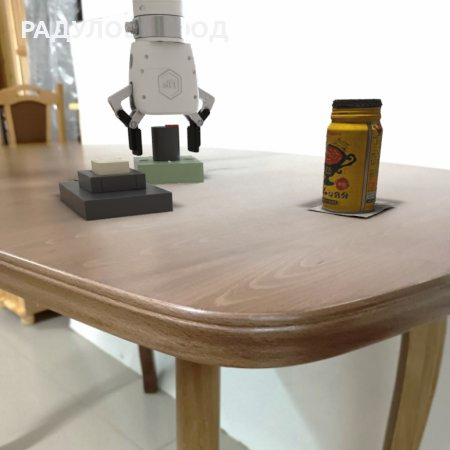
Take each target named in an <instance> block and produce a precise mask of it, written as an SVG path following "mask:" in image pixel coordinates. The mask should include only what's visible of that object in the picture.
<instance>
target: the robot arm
mask: <svg viewBox="0 0 450 450" xmlns="http://www.w3.org/2000/svg"><path fill="white" fill-rule="evenodd" d="M132 13H133V15H132V16H133V18H131V19H132V20H131V21H125V22H124V32H125V33H130V34H131V35H132V36H133V39H134V41H133V42H131V44H130V51H129V62H128V85H126V86H124V87H123V88H121V89H119V90H118V91H116V92H114V93H113V94H111V95H109V96H108V97H107V103H108V104H109V106H110V108H111V110H112V112H113V113H114V115H115V117H116V118H117V119H118V120H119V121H120V122H121V123H122V124H123V125H124V127H125V128H127V139H128V141H127V142H128V149H129V150H130V151H131V154H132V155H133V156H135V157H142V156H143V154H144V151H143V150H144V149H143V136H142V135H143V134H142V129H141V128H140V127H139V125H140V123H141V122H142V120H143V119H144V117H145V116H172V115H173V116H175V115H176V116H177V115H183V117H184V118H185V120H186V121H187V122H188V124H189V125H187V127H186V143H187V144H186V145H187V152H190V153H197V154H198V153H199V152H200V147H201V146H202V145H201V144H202V135H201V133H202V132H201V131H202V130H201V129H202V128H201V127H203V126H204V123H205V121H206V120H207V119H208V117H209V116H210V115H211V110H212V108H213V106H214V104H215V101H216V98H215V97H214V95H211V94H210V93H209V92H207V91H205V90H204V89H202V88H201V87H199V83H198V82H199V81H198V73H197V72H198V71H197V65H196V60H195V54H194V50H193V46H192V45H193V44H192V43H189V42H188V43H187V28H186V0H132ZM127 98H128V101H129V102H128V103H129V107H130V110H131V111H130V113H129V114H128V112H126V110H125V109H124V107H123V106H122V102H123V101H124V100H126V99H127ZM200 101H201V102H202V104H201V108H200ZM199 108H200V109H199Z"/></svg>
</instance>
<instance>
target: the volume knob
mask: <svg viewBox="0 0 450 450" xmlns="http://www.w3.org/2000/svg"><path fill="white" fill-rule="evenodd" d="M150 134H151V135H150V136H151V150H152V151H151V152H152V153H151V154H152V157H153V160H155V161H175V160H180V156H181V147H180V145H181V144H180V143H181V141H180V125H179V124H178V123H177V124H175V123H173V124H164V125H155V126H150Z"/></svg>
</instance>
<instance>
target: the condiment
mask: <svg viewBox="0 0 450 450" xmlns="http://www.w3.org/2000/svg"><path fill="white" fill-rule="evenodd" d="M383 105H384V104H383V101H382V99H381V98H341V99H340V98H337V99H334V100H332V104H331V107H332V108H331V113H330V120H331V122H330V123H329V125H328V126H327V128H326V133H325V135H326V136H325V148H324V149H325V150H324V151H325V152H324V164H323V181H322V197H321V203H322V204H319V205H317V206H315V207H311V208H309V210H311V211H317V212H322V213H328V214H333V215H334V214H335V215H342V216H357V217H363V218H368V217H371V216H374V215H376V214H378V213H381V212H382V211H384V210H385V209H388V208H390V207H392V206H393V205H395V203H390V202H389V203H384V202H383V203H382V202H376V201H377V200H376V199H377V194H378V193H377V192H378V182H379V181H378V179H379V172H380V171H379V170H380V161H381V152H382V144H383V134H384V128H383V126H382V122H381V119H382V106H383Z"/></svg>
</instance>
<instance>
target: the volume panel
mask: <svg viewBox="0 0 450 450" xmlns="http://www.w3.org/2000/svg"><path fill="white" fill-rule="evenodd" d="M132 158H133V169H134V170H137V171H140V172H142V173H145V176H146V182H147V183H150V184H152V185H172V184H196V183H198V184H199V183H204V182H205V179H204V176H205V175H204V162H203V161H201V160H199V159H198V158H196V157H195V156H193V155H192V154H191V155H180V160H175V161H155V160H153V156H133V157H132Z"/></svg>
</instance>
